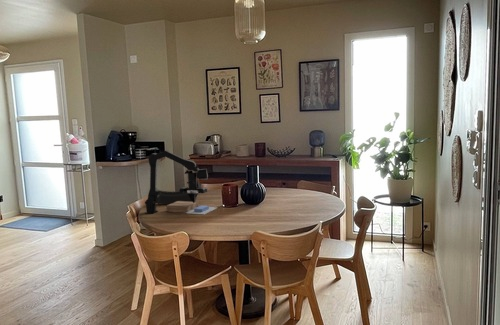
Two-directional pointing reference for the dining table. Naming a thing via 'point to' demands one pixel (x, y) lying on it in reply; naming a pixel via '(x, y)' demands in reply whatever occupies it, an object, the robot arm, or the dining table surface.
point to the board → (182, 206)
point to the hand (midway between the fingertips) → (194, 202)
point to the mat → (203, 211)
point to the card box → (201, 208)
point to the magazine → (172, 197)
